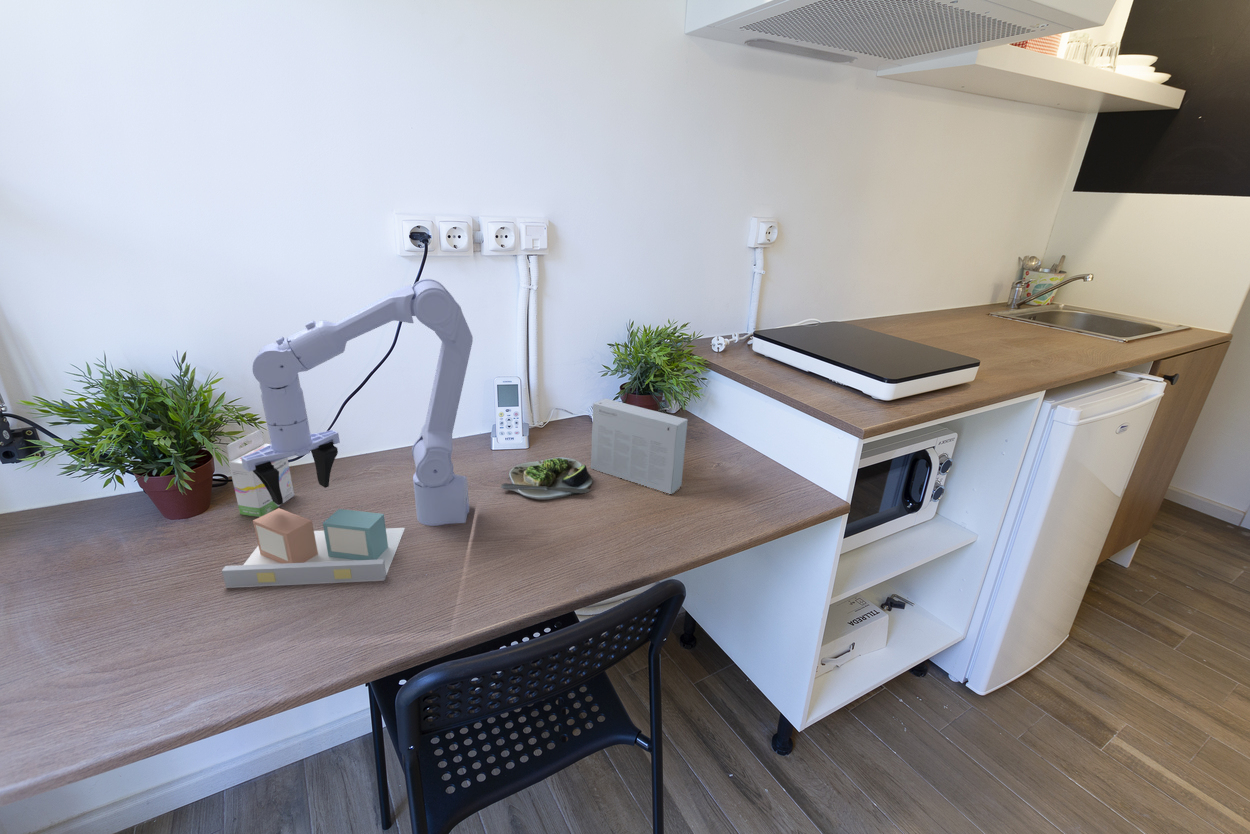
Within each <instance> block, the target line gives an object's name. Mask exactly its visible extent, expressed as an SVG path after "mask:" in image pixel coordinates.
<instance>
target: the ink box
mask: <svg viewBox="0 0 1250 834" xmlns="http://www.w3.org/2000/svg"><path fill="white" fill-rule="evenodd" d="M263 437H264V436H263V432H262V429H258V430H256V431H254V432H252V433H249V434H247V435H245V436H243V437H241V438H239V439H237V440H235V441H233V442H230V443H229V444H227V446H226V451H227V456H228V466H229V470H230V474H231V480H232V483H233V488H234V492H235V497H236V498H235V499H236V502H237V506H238V510H239V514H240V515H244V516H250V517H257V518H259V517H261V516H263V515H265V514H268V513H270V512H272V511H274V510H276V509H278V508H279V507H280V506H281V505H277V504H276V503H274V502H273V500H272V498H271V496H270V494H269V492H268V490H267V488H266V487H265V485H264V484H263V483H262V481H261V480H260V479H259V478H258V477H257V475H256V474H255V473H254V472H253V471H250V472H249V471H247V470H245V469H244V468H243V464H242V460H241V457H243V456H246V455H249V454H251V453H254V452H256V451H258V450H260V449H262V448H264V447H266V446H269V445H271V443H264V438H263ZM249 441H251V442H250V443H248V444H247V445H244V446H243V447H240V446H241V445H243V444H244V443H245V442H249ZM288 458H289V457H288ZM288 458H285V459H282V460H278V461H275V462H272V463H271V464H272V465H274V468H275V469H276V470H278V471H279V486H280V491H281V495H282V499H283V504H284V503H286V502H287V501H289V500H290V499H291V498H293V497H295V492H294V487H293V482H292V481H293V480H292V474H291V471H290V465H289V459H288Z"/></svg>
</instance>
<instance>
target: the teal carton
mask: <svg viewBox="0 0 1250 834" xmlns="http://www.w3.org/2000/svg"><path fill="white" fill-rule="evenodd" d="M322 526H323V527H322V528H323V531H324V534H325V539H326V545H327V551H328V556H329V557H335V558H343V559H351V560H377V559H378V557H379V556H380V555H381V554H382V553H383V552H384V551H385V550H386V549H387V547H388V542H387V534H386V528H387V527H386V521H385V513H380V512H379V513H378V512H369V511H362V510H360V511H359V510H353V509H346V508H345V509H344V508H339V509H337V510H336V511H335V512H334V513H332V514H331V515H330V516H329V517H328V518H327V519H325V520H324V521H323V522H322Z"/></svg>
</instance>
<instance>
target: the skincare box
mask: <svg viewBox="0 0 1250 834" xmlns="http://www.w3.org/2000/svg"><path fill="white" fill-rule="evenodd" d="M688 422H689V421H688V418H683V417H679V416H675V415H672V414H668V413H664V412H660V411H657V410H652V409H648V408H645V407H640V406H637V405H633V404H628V403H624V402H620V401H617V400H614V399H610V398H602V399H600V400H598V401H596V402H593V403H592V428H591V452H590V453H591V456H590V457H591V458H590V470H593V469H594V471H596V470H597V472H599V471H600V473H602V472H603V474H605V473H606V474H605V475H608V474H610V475H609V476H611V475H613V476H612V477H614V476H616V477H615V478H617V477H619V478H618V479H620V478H622V479H621V480H623V479H625V480H624V481H626V480H628V481H627V482H629V481H631V482H630V483H632V482H635V483H638V484H637V485H639V484H641V485H640V486H642V485H644V486H643V487H645V486H647V487H646V488H648V487H650V488H649V489H651V488H654V489H657V490H660V491H663V492H666V493H669V494H672V493H673V492H674V493H676V492H677V491H678V490H679V489H680V488H679V487H680V486H681V487H682V485H683V484H682V483H683V472H684V461H685V453H686V452H685V451H686V443H687V432H688V431H687V430H688ZM635 483H634V484H635ZM678 488H679V489H678ZM654 489H653V490H654ZM677 489H678V490H677ZM657 490H656V491H657ZM676 490H677V491H676ZM660 491H659V492H660ZM675 491H676V492H675ZM663 492H662V493H663ZM666 493H665V494H666ZM674 493H673V494H674ZM669 494H668V495H669ZM673 494H672V495H673Z"/></svg>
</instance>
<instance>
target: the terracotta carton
mask: <svg viewBox="0 0 1250 834" xmlns="http://www.w3.org/2000/svg"><path fill="white" fill-rule="evenodd" d="M252 524H253V526H254V527H253V528H254V532H255V536H256V540H257V541H256V542H257V547H258V546H259V550H260V555H263V556H265V557H267V558H270V559H272V560H274V561H277V562H279V563H281V564H283V563H304V562H306V561H308V560H309V559H311V558H313V557H314V556H316V555H318V551H317V545H316V540H315V535H314V531H315V530H314V525H313V524H314V523H313V520H311V519H309V518H306V517H304V516H301V515H298V514H296V513H293V512H291V511H287V510H285V509H282V508H280V507H277V508H275V509H274V510H272V511H271V512H269V513H268V514H265V515H263V516H261V517H257V518H255V519H253V520H252Z"/></svg>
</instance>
